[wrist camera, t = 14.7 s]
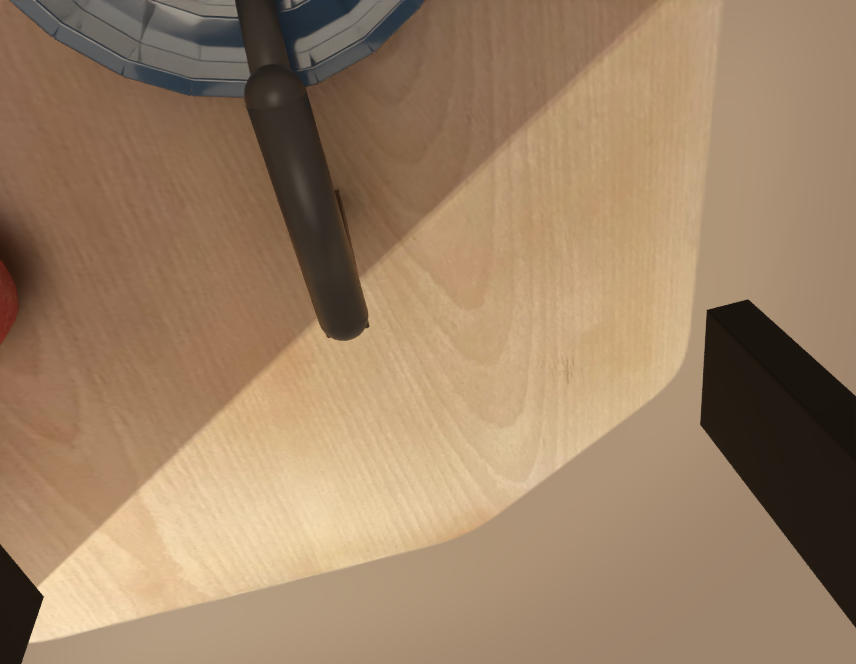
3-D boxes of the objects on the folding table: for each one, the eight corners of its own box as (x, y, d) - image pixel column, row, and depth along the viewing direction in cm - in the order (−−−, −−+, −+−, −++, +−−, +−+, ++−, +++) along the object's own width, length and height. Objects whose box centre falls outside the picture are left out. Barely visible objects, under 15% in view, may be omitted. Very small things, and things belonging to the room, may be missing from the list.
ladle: (76, -291, 21) (-35, -367, 13) (268, -330, 21) (271, -428, 14) (268, 241, 32) (269, 371, 25) (392, 210, 33) (432, 328, 25)
